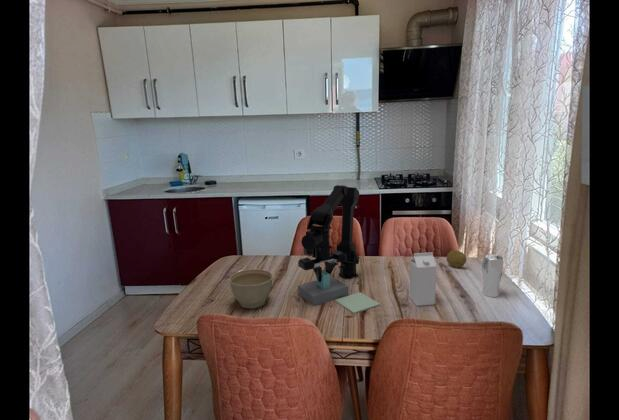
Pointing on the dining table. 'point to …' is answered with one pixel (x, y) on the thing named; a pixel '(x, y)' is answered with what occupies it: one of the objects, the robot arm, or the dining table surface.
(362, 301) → the mat
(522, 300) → the dining table surface
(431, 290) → the milk carton
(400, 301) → the dining table surface
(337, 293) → the socket block
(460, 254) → the olive green melon
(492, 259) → the silver can
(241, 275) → the planter bowl
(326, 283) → the plug
